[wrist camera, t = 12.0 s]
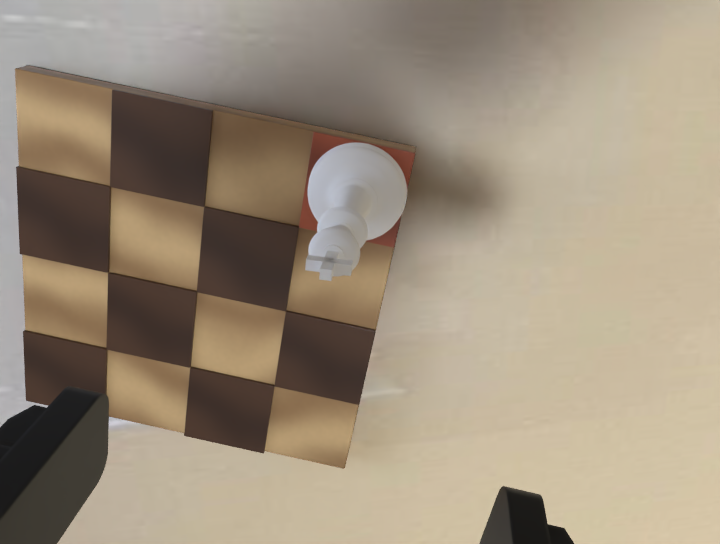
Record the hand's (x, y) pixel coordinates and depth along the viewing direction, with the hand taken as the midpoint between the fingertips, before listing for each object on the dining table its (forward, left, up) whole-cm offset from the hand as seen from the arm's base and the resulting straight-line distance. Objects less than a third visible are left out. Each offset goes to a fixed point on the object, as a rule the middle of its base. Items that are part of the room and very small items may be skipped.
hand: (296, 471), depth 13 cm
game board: (+8, -9, -22) cm, 25 cm away
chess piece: (+1, -1, -21) cm, 21 cm away
